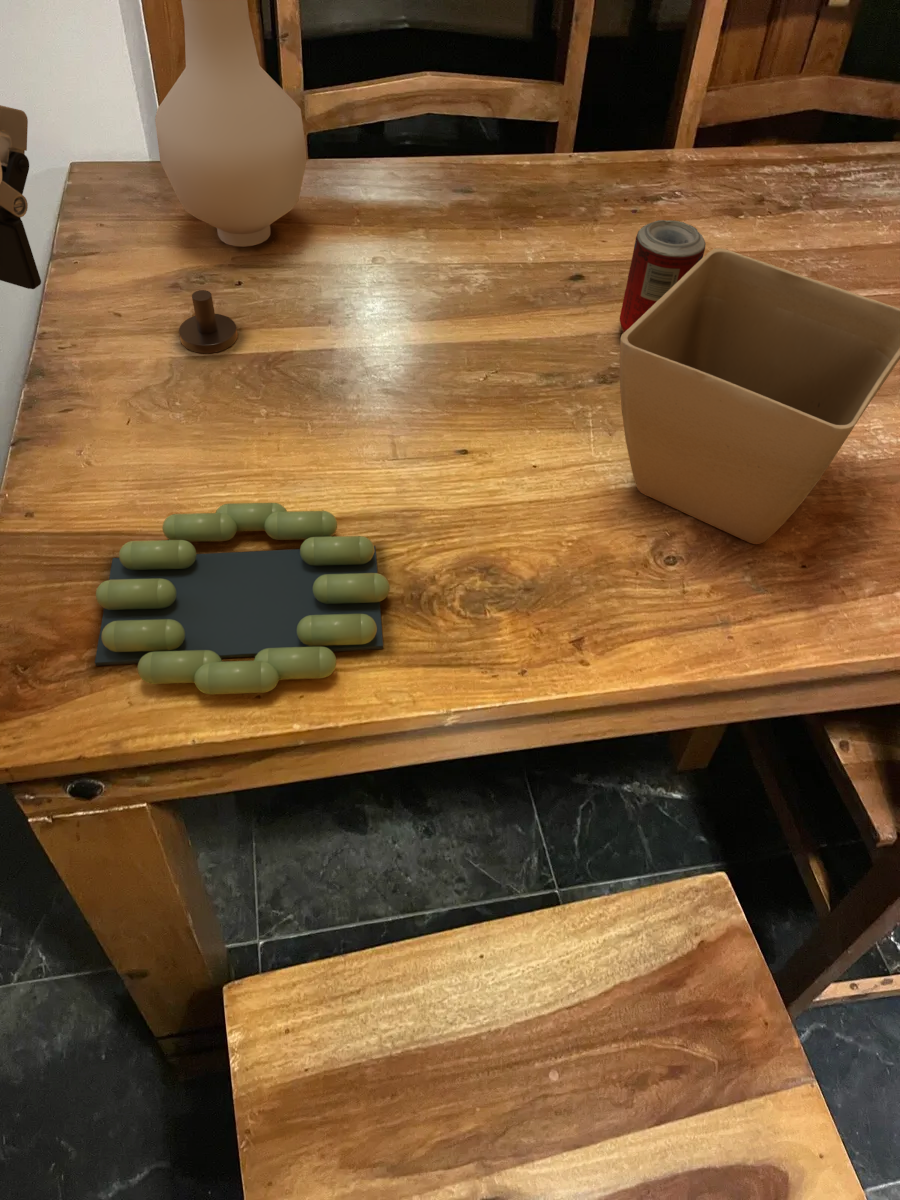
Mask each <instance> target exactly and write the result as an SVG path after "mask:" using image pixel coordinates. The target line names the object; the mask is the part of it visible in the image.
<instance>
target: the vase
mask: <svg viewBox="0 0 900 1200" xmlns="http://www.w3.org/2000/svg"><path fill="white" fill-rule="evenodd" d="M180 1H181V8H182V15H183V21H184V50H185V51H184V53H185V67H184V69H183V71H182V72H181V74H180V75H179V77H178V78H177V79H176V81H175V83H174V84H173V86H172V87H171V88H170V90H169V91H168V92H167V94H166V95H165V97H164V99H163V100H162V101H161V103H160V104H159V106H158V107H157V110H156V114H155V118H154V121H155V129H156V138H157V145H158V154H159V163H160V165H161V167H162V169H163V171H164V173H165V175H166V178H167V180H168V182H169V183H170V186H171V188H172V190H173V191H174V193H175V195H176V198H177V200H178V202H179V204H180V205H181V207H182V208H183V209H184V211H185V212H186V213H187V214H189V215H191V216H193V217H194V218H195V219H198V220H200V221H201V222H203V223H206V224H208V225H210V226H211V227H214V228H216V231H217V232H216V233H217V237H218V238H219V240H220V241H221V242H222V243H225V244H226V245H230V246H233V247H242V248H243V247H253V246H257V245H260V244H263V243H264V242H266V241H267V240H268V239H269V238H270V236H271V225H272V224H274V222H276V221H278V220H279V219H280V218H281V217H283V216H285V215H286V214H288V213H289V212H290V211H292V210H293V208H294V207H295V206H296V205H297V203H298V202H299V199H300V195H301V190H302V185H303V180H304V177H305V176H304V175H305V171H306V167H307V145H306V137H305V131H304V130H305V129H304V124H303V118H302V117H303V116H302V109H301V108H300V106H299V105H298V104H297V103H296V102H295V100H294V99H293V98H292V97H291V96H290V95H289V94H288V93H287V92H286V91H285V90H284V89H283V88H282V87H281V86H280V85H279V84H278V83H277V82H276V81H275V80H274V79H273V78H272V77H271V76H270V75H269V73H267V72H266V70H265V69H264V68H262V66H260V59H259V56H258V52H257V46H256V43H255V39H254V34H253V29H252V26H251V25H252V24H251V20H250V14H249V13H250V12H249V4H248V0H180Z"/></svg>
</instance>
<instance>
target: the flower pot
mask: <svg viewBox="0 0 900 1200" xmlns="http://www.w3.org/2000/svg"><path fill="white" fill-rule="evenodd" d="M620 335H621V336H620V342H619V390H620V391H619V393H620V404H621V406H620V407H621V414H622V423H623V431H624V437H625V443H626V449H627V454H628V458H629V459H628V460H629V465H630V469H631V473H632V477H633V480H634V484H635V485H636V486H635V487H636V489H637V490H638V492H640V494H642V495H645V496H646V497H649V498H651V499H653V500H655V501H657V502H660V503H662V504H664V505H666V506H668V507H671V508H673V509H674V510H677V511H679V512H681V513H683V514H686V515H689V516H691V517H692V518H694V519H697V520H699V521H700V522H704V523H706V524H707V525H710V526H712V527H714V528H716V529H719V530H721V531H722V532H725V533H727V534H730V535H731V536H734V537H736V538H738V539H740V540H742V541H745V542H747V543H750V544H753V545H760V544H763V543H765V542H767V541H768V540H769V539H770V537H772V536H773V535H774V534H775V533H776V532H777V531H779V529H780V528H781V527H782V526H783V525H784V524H785V523H786V522H787V520H789V518H791V516H792V515H793V514H794V513H795V511H796V510H797V509H798V508H799V507H800V505H801V504H802V503H803V502H804V501H805V499H806V498H807V497H808V496H809V494H810V493H811V491H812V490H813V488H814V487H815V486H816V485H817V483H818V482H819V481H820V479H821V478H822V476H823V475H824V473H826V470H827V469H828V468H829V466H830V465H831V463H832V462H833V460H834V458H835V457H836V456H837V454H838V452H839V451H840V450H841V448H842V446H843V445H844V444H845V442H846V440H847V439H848V437H849V436H850V434H851V433H852V431H853V430H854V428H855V426H856V424H857V423H858V422H859V420H860V418H861V417H862V416H863V414H864V413H865V411H866V410H867V408H868V406H869V405H870V404H871V402H872V401H873V400H874V398H875V396H876V395H877V394H878V392H879V390H880V389H881V388H882V387H883V385H884V383H886V380H887V379H888V378H889V376H890V374H891V373H892V371H893V370H894V368H895V367H896V365H897V364H898V363H899V361H900V308H899V307H897V306H894V305H891V304H888V303H885V302H882V301H879V300H876V299H873V298H870V297H867V296H864V295H861V294H858V293H855V292H852V291H849V290H847V289H843V288H840V287H837V286H835V285H833V284H829V283H826V282H823V281H819V280H817V279H815V278H812V277H809V276H806V275H802V274H800V273H796V272H794V271H792V270H788V269H785V268H782V267H779V266H777V265H774V264H771V263H768V262H765V261H762V260H759V259H757V258H755V257H754V258H753V257H751V256H748V255H744V254H741V253H740V252H739V253H738V252H736V251H733V250H730V249H728V248H722V247H716V248H715V247H714V248H713V249H710V250H709V251H708V252H707V253H705V255H703V258H702V259H701V260H700V261H699V262H698V263H697V264H696V265H694V266H693V267H692V268H691V269H690V270H689V271H688V272H687V273H686V274H685V275H684V276H683V277H682V278H681V279H680V280H679V281H678V282H677V283H676V284H675V285H674V286H673V287H672V288H671V289H670V290H669V291H667V292H666V293H665V294H664V295H663V296H662V297H661V298H660V299H659V300H658V301H657V302H656V303H655V304H654V305H653V306H652V307H651V308H650V309H649V310H647V311H646V312H645V313H644V314H643V315H642V316H641V317H640V318H639V319H638V320H637V321H636V322H635V323H634V324H633V325H632V326H631V327H630V328H629V329H628V330H626V331H625V332H624V333H623V332H622V334H620Z"/></svg>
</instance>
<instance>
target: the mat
mask: <svg viewBox="0 0 900 1200" xmlns="http://www.w3.org/2000/svg"><path fill="white" fill-rule="evenodd" d="M111 559H112V560H111V566H110V572H109V578H108V580H119V579H158V578H161V579H166V580H169V581H170V582H171V583H172V584H173V585H174V586H175V588H176V599H175V601H174V602H173V604H171V605H170V606H169V607H166V608H162V609H127V610H108V609H105V608H103V613H102V619H101V623H100V629H99V635H98V641H97V646H96V652H95V659H94V665H95V666H96V667H97V666H113V665H128V664H129V665H130V664H133V665H134V664H138V663H139V660H140V659H141V658H142V657H143V656H144V655H145V654H147V653H150V652H159V651H136V652H114V651H111V650H109V649H107V648H106V647H105V645H104V644H103V642H102V637H101V636H102V631H103V629H104V628H105V626H106V625H107V624H109V623H111V622H113V621H124V620H159V619H172V620H175V621H177V622H179V623H180V624H181V625H182V626H183V628H184V631H185V639H184V641H183V643H182V644H181V646H179V647H178V648H176V649H174V650H168V651H191V650H210V651H213V652H215V653H217V654H218V655H219V656H220V658H221V659H231V658H249V657H256V655H257V654H258V653H259V652H260V651H261V650H263V649H266V648H286V647H318V646H309V645H306V644H304V643H302V642H301V641H300V639H299V638H298V635H297V626H298V623H299V622H300V620H301V619H303V618H304V617H306V616H309V615H333V614H366V615H368V616H370V617H371V618H372V619H373V620H374V621H375V623H376V626H377V632H376V635H375V637H374V638H373V640H371V641H370V642H369V643H366V644H359V645H327V646H321V647H326V648H328V649H330V650H331V651H332V652H333V653H334V652H335V653H336V652H351V651H368V650H383V649H384V638H383V637H384V636H383V626H382V613H381V612H382V611H381V601H380V602H376V603H343V604H325V603H321V602H320V601H318V600H317V599H316V598H315V596H314V594H313V584H314V582H315V580H316V579H317V578H318V577H320V576H322V575H325V574H357V573H378V562H377V561H378V560H377V547H376V545H374V555H373V557H372V559H371V560H370V561H369V562H367V563H365V564H361V565H320V566H313V565H309V564H307V563H306V562H304V560H303V559H302V557H301V555H300V548H292V549H274V550H273V549H272V550H253V551H230V552H209V553H196V559H195V562H194V563H193V564H192V565H191V566H190V567H188V568H185V569H157V570H131V569H128V568H126V567H125V566H123V565H122V563H121V562H120V559H119V557H112V558H111ZM378 574H379V573H378Z"/></svg>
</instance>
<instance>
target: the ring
mask: <svg viewBox="0 0 900 1200" xmlns="http://www.w3.org/2000/svg"><path fill="white" fill-rule="evenodd" d="M161 529H162V533H163V535H164V537H166V539H160V540H159V539H158V540H155V539H154V540H153V539H152V540H130V541H128V542H126V543H124V544H123V545H122V546H121V547H120V549H119V553H118V558H119V559H120V562H121V563H122V565H123V566H125V567H126V568H128V569H131V570H157V569H185V568H188V567H190V566H191V565H192V564H193V563H194V562H195V559H196V554H197V550H196V547H195V545H193V544H192V543H200V542H203V543H204V542H227V541H229V540H231V539H233V538H234V537H235V536H236V533H238V532H265V533H266V534H267V536H268V537H269V538H271V539H273V540H277V541H284V540H285V541H288V540H289V541H291V540H295V541H296V540H303V542H302V543H301V545H300V548H299V549H300V555H301V557H302V559H303V560H304V562H306V563H307V564H309V565H313V566H320V565H361V564H365V563H367V562H369V561H370V560H371V559H372V557H373V555H374V546H375V545H374V543H373V541H372V540H371V539H370V538H368V537H367V536H363V535H341V536H339V535H337V536H335V533H336V532H337V529H338V520H337V518H336V517H335V515H334V514H333V513H331V512H330V511H327V510H299V511H298V510H297V511H296V510H293V511H291V510H290V511H289V510H288V511H287V508H285V507H284V506H283V504H281V503H278V502H236V503H235V502H234V503H233V502H231V503H229V502H228V503H224V504H222V505H220V506H219V507H217V509H216V511H215V512H195V513H194V512H193V513H190V512H189V513H173V514H170V515H168V516H167V517H166V518H165V519H164V521H163V523H162V528H161ZM390 589H391V587H390V583H389V580H388V579H387V578H386V576H385V575H383V574H381V573H357V574H325V575H322V576H320V577H318V578H317V579H316V580H315V582H314V584H313V594H314V596H315V598H316V599H317V600H318V601H320V602H321V603H325V604H343V603H376V602H380V603H381V602H382V601H384V600H385V599H386V598H387V597H388V596H389V593H390ZM95 599H96V601H97V603H98V605H99V606H100V607H102V608H103V609H104V608H105V609H108V610H127V609H162V608H166V607H169V606H170V605H171V604H173V602H174V601H175V599H176V588H175V586H174V585H173V584H172V583H171V582H170V581H169V580H166V579H161V578H158V579H119V580H109V579H107V580H104V581H102V582H101V583H100V584H99V585H98V586H97V587H96V590H95ZM376 632H377V626H376V623H375V621H374V620H373V619H372V618H371V617H370V616H368V615H366V614H333V615H309V616H306V617H304V618H303V619H301V620H300V622H299V623H298V626H297V635H298V638H299V639H300V641H301V642H302V643H304V644H306V645H309V646H318V647H286V648H266V649H263V650H261V651H260V652H259V653H258V654H257V655H256V656H254V659H253V660H235V661H234V660H231V661H230V660H229V661H228V660H227V661H223V660H222V658H220V656H219V655H218V654H217V653H215V652H213V651H210V650H191V651H168V650H174V649H176V648H178V647H179V646H181V644H182V643H183V641H184V639H185V631H184V628H183V626H182V625H181V624H180V623H179V622H177V621H175V620H172V619H159V620H124V621H113V622H111V623H109V624H107V625H106V626H105V628H104V629H103V631H102V636H101V637H102V642H103V644H104V645H105V647H106V648H107V649H109V650H111V651H114V652H136V651H159V652H150V653H147V654H145V655H144V656H143V657H142V658H141V659H140V660H139V663H137V667H136V668H137V673H138V674H137V675H138V676H139V677H140V679H141V680H142V681H144V682H145V683H148V684H151V685H163V684H164V685H165V684H187V683H189V684H191V683H192V684H193V683H194V684H195V687H196V688H197V689H198V691H200V692H201V693H202V694H205V695H235V694H236V695H237V694H260V693H262V694H263V693H268V692H271V691H273V690H274V689H275V688H276V687H277V685H278V683H279V681H280V680H281V681H282V680H309V679H310V680H311V679H324V678H327V677H329V676H331V675H332V674H333V673H334V672H335V670H336V667H337V657H336V654H335V653H334V652H332V651H331V650H330V649H328V648H326V647H321V646H327V645H359V644H366V643H369V642H370V641H371V640H373V638H374V637H375V635H376Z"/></svg>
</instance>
